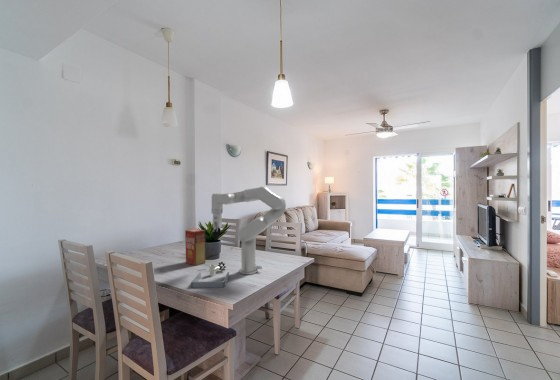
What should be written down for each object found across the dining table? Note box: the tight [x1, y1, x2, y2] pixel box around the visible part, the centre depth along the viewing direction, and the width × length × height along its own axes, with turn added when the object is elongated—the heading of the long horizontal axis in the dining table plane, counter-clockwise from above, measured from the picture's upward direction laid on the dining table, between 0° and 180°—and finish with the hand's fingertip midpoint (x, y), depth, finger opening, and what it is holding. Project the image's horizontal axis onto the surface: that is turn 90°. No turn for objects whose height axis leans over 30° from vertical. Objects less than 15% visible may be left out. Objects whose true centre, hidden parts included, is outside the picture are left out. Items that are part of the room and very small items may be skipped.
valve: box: [208, 261, 227, 277], centre depth 172 cm, size 7×7×12 cm
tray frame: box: [190, 271, 230, 289], centre depth 157 cm, size 19×17×3 cm
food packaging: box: [184, 228, 206, 267], centre depth 196 cm, size 13×9×25 cm
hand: (216, 236), depth 179 cm, fingers open, 9 cm apart
